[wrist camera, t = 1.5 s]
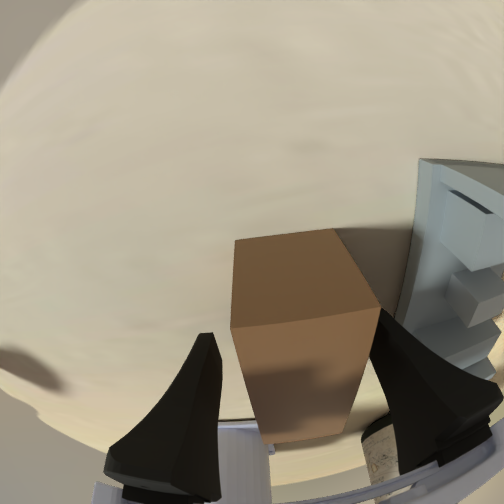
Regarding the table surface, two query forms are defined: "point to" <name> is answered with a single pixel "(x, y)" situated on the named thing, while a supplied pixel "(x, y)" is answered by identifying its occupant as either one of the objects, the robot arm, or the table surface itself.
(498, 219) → the display stand
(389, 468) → the wine bottle
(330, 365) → the brown rectangular block
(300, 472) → the table surface
